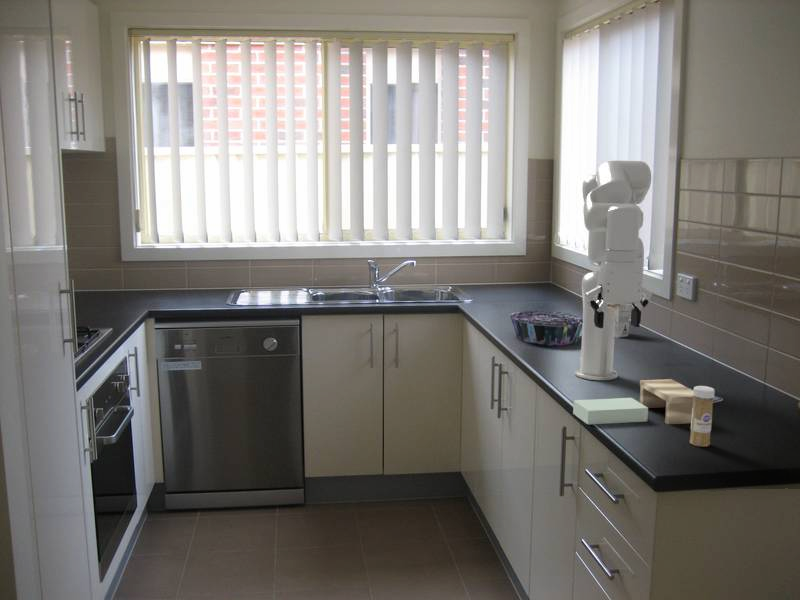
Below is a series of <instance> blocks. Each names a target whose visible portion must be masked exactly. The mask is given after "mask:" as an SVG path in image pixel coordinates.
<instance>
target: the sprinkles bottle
mask: <svg viewBox="0 0 800 600" xmlns="http://www.w3.org/2000/svg"><path fill="white" fill-rule="evenodd" d="M715 391H716V390H715V388H713V387H711V386H706V385H697V386H694V387H693V395H694V396H693V397H694V400H693V408H692V420H691V423H690V436H689V443H690V444H691V445H693V446H696V447H709V446H710V445H711V431H712V424H713V423H712V422H713V407H714V406H713V404H714V403H713V399H714V396H715Z"/></svg>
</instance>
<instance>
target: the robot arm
mask: <svg viewBox="0 0 800 600" xmlns="http://www.w3.org/2000/svg"><path fill="white" fill-rule="evenodd" d="M650 168H651V167H649V165H648V163H646V162H645V161H641V160H607V161H605V162H603V163H602V164H601V165H600V166H599V167H598V168H597V171H596V174H591V175H589V176H586V177H585V178H584V180H583V182H582V189H581V191H582V197H583V210H582V211H583V212H582V213H583V221H584V222H583V223H584V225H585V226H584V227H585V228H586V230H587V231H588V245H587V251H588V252H587V255H588V257H587V258H588V261H589V263H590V264H591V265H593V266H597V267H599V271H598V270H597V271H596V270H594V271H591V272H588V273H586V274H584V276H583V277H582V280H581V295H582V319H583V325H582V329H581V344H580V345H581V347H580V358H579V362H580V363H579V364H580V366H579V367H577V368H575V370H574V374H575V376H576V377H579V378H581V379H585V380H590V381H591V380H593V381H611V380H615V379H617V378H618V372H617V371H616V370H614V368H613V366H614V351H615V338H616V337H615V317H614V315H613V313H612V312H611V310H610V309H609V308H608V307H607V305H608V304H629V305H630V306H631V307H632V308H633V309H630V325H631V326H632V327H635V328H639V327H640V323H641V321H642V312H643V311H644V308H646V306H647V305H648V304H649V302H650V299H652V295H653V292H652V291H649V290H648V289H646V288H644V265H645V264H644V261H645V248H644V243H643V242H644V241H643V239H641V237H639V235H640V229H641V228H642V227H643V225H644V224H643V222H644V211H642V209H641V207H640V206H639V204H641V203H643V201H644V200H645V198H646V196H647V194H648V192H649V190H650V187H651V183H652V171H651V169H650Z"/></svg>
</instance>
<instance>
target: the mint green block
mask: <svg viewBox="0 0 800 600" xmlns="http://www.w3.org/2000/svg"><path fill="white" fill-rule="evenodd" d="M572 407H573V410H572V414H573V415H575V416H576V417H577V418H578V419H579V420H581V421H582V422H584V423H585V424H587V425H603V424H620V423H621V424H622V423H640V422H641V423H642V422H643V423H644V422H648V418H649V417H648V416H649V408H648V407H646V406H644V405H643V404H641V403H640V401H638V400H636V399H634V398H633V397H618V398H617V397H616V398H598V399H597V398H594V399H592V398H591V399H576V400H573V405H572Z"/></svg>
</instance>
